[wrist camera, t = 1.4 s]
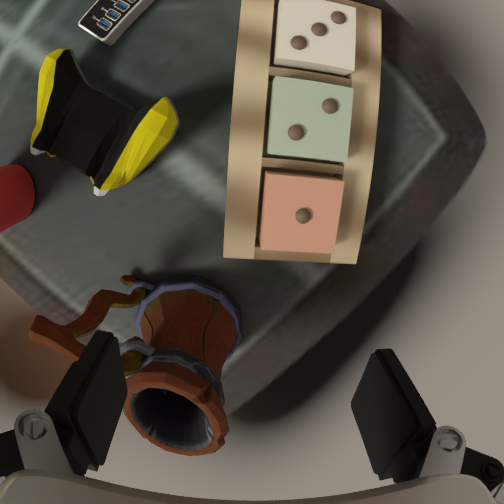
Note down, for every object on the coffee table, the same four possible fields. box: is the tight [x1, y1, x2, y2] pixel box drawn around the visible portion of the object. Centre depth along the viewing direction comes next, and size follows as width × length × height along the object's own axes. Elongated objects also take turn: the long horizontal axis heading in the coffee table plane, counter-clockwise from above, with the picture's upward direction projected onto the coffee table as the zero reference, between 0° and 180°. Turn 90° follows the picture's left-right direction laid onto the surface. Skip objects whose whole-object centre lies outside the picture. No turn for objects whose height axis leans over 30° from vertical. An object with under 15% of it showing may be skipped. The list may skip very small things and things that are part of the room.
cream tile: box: [273, 0, 356, 76], centre depth 19 cm, size 6×6×3 cm
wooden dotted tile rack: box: [223, 0, 381, 264], centre depth 24 cm, size 24×12×3 cm, turn 176°
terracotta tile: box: [259, 170, 344, 254], centre depth 25 cm, size 6×6×3 cm
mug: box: [29, 275, 243, 456], centre depth 25 cm, size 18×12×15 cm, turn 49°
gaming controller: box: [30, 49, 180, 196], centre depth 22 cm, size 15×6×10 cm
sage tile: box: [266, 76, 353, 163], centre depth 22 cm, size 6×6×3 cm
